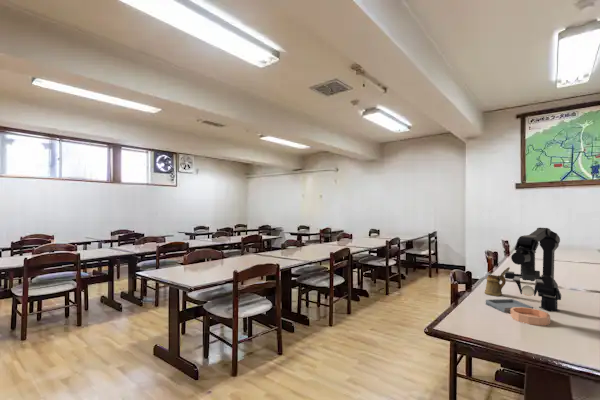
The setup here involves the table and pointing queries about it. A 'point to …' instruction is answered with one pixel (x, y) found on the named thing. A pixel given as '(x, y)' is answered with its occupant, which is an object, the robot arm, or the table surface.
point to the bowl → (530, 316)
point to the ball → (527, 290)
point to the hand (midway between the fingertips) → (527, 294)
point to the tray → (505, 304)
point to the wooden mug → (495, 284)
